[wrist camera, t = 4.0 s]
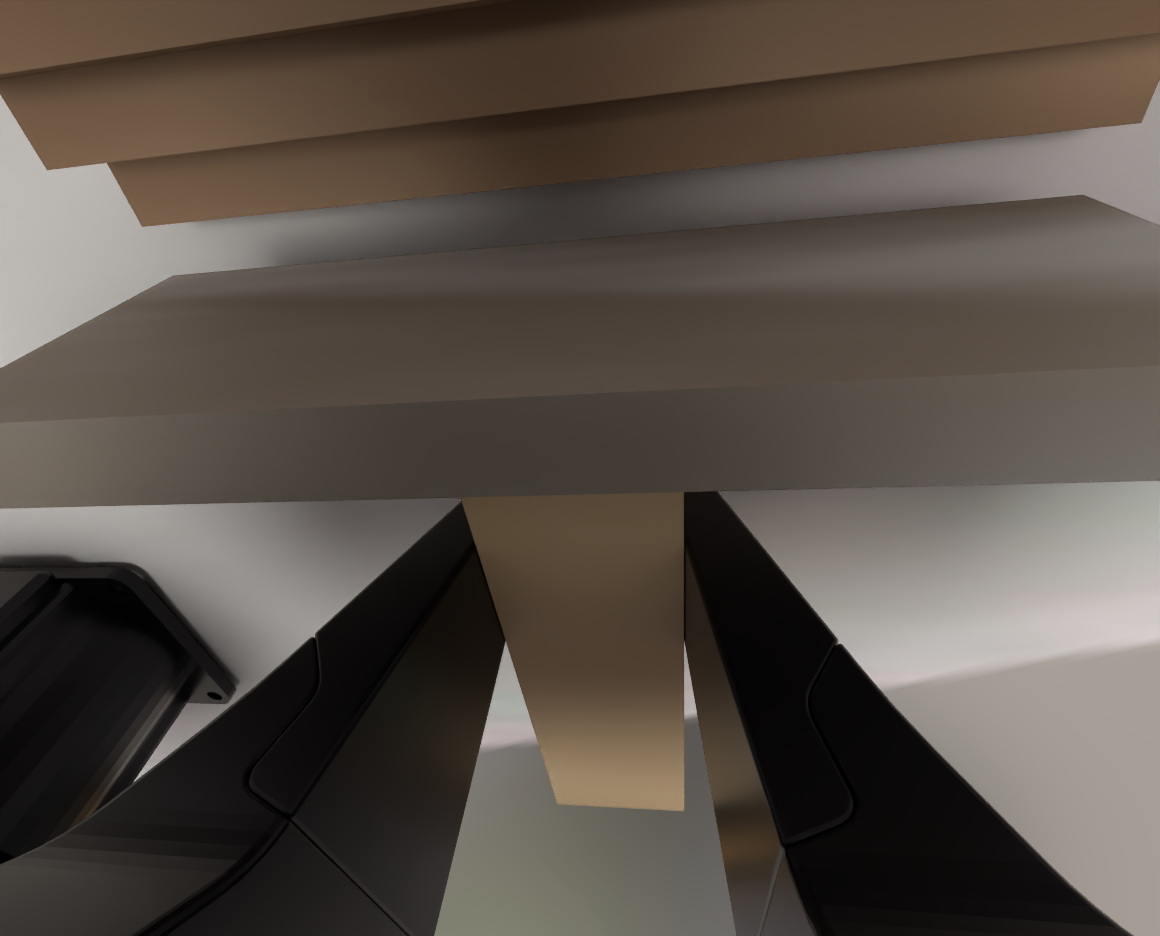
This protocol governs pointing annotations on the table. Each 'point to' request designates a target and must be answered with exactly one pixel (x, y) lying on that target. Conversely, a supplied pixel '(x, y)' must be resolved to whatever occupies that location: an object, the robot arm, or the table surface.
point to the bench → (538, 88)
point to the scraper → (614, 410)
